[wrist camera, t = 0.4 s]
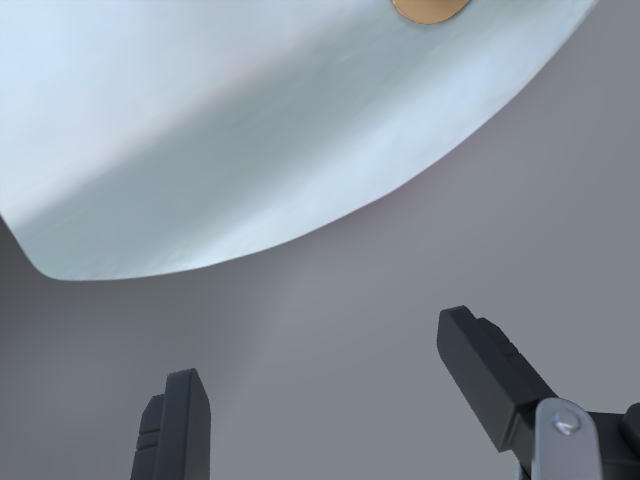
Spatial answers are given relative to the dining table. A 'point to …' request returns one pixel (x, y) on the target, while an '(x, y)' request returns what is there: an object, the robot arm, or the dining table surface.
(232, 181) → the dining table surface
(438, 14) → the cork coaster
